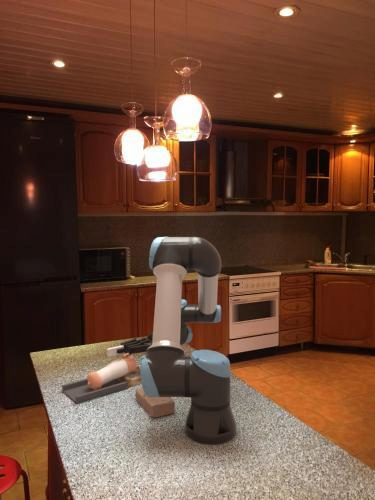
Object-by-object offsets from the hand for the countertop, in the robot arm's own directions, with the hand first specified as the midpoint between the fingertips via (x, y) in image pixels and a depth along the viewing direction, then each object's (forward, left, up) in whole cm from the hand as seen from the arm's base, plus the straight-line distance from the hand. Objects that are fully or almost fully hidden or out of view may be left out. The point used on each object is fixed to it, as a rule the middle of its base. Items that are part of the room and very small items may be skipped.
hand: (107, 352), depth 150 cm
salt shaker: (+8, -6, -6) cm, 12 cm away
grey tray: (-4, +3, -13) cm, 14 cm away
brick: (-10, -22, -14) cm, 28 cm away
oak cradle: (+9, -6, -13) cm, 17 cm away
